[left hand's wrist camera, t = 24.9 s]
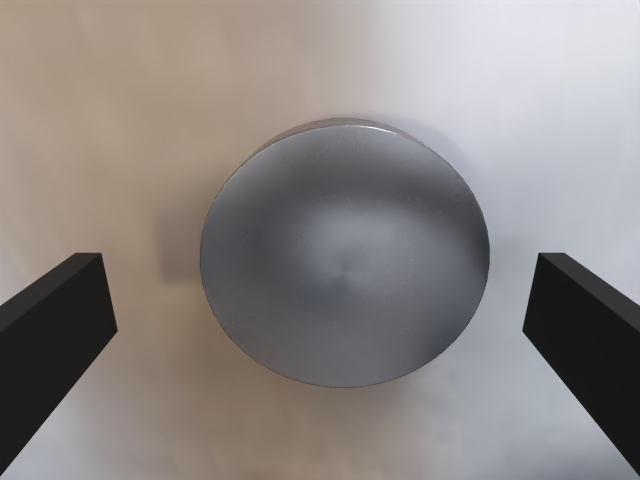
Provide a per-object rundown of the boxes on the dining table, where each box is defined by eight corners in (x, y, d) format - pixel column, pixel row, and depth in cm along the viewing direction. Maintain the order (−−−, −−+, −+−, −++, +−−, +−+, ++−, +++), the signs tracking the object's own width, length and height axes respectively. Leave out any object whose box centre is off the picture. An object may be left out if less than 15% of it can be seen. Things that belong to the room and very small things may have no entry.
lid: (410, 378, 17) (420, 414, 15) (193, 317, 16) (176, 348, 14) (516, 168, 14) (545, 182, 12) (249, 78, 13) (236, 78, 11)
